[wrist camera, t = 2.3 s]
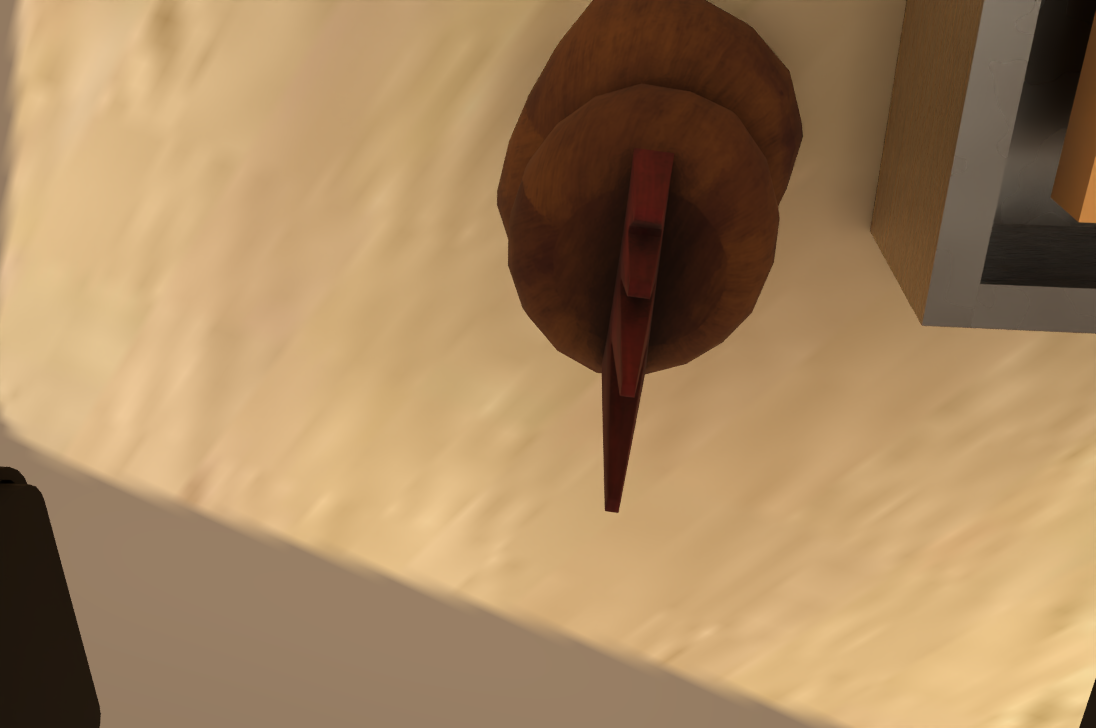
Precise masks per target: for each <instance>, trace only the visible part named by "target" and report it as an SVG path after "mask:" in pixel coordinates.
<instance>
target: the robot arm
mask: <svg viewBox="0 0 1096 728" xmlns="http://www.w3.org/2000/svg"><path fill="white" fill-rule="evenodd" d="M100 715H101V713H100V706H99V702H98V699H97V695H96V691H95V687H94V683H93V680H92V676H91V673H90V669H89V665H88V661H87V657H86V654H85V650H84V646H83V643H82V639H81V635H80V631H79V628H78V624H77V621H76V616H75V613H74V609H73V605H72V601H71V598H70V594H69V590H68V587H67V583H66V579H65V575H64V572H63V568H62V564H61V561H60V557H59V553H58V550H57V546H56V542H55V538H54V535H53V531H52V527H51V523H50V520H49V516H48V512H47V508H46V505H45V501H44V498H43V496H42V494H41V492H40V491H39V490H38V489H37V487H35V486H32V485H28V484H27V482H26V480H25V478H24V476H23V475H22V474H21V473H20V472H19V471H18V470H16V469H13V468H11V467H0V728H99V726H100ZM1079 728H1096V679H1095V682H1094V685H1093V688H1092V691H1091V694H1090V697H1089V700H1088V703H1087V706H1086V709H1085V712H1084V715H1083V718H1082V721H1081V724H1080V727H1079Z"/></svg>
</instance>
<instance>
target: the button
mask: <svg viewBox="0 0 1096 728" xmlns="http://www.w3.org/2000/svg"><path fill="white" fill-rule="evenodd" d="M1051 198H1052V199H1053V200H1054V201H1055V202H1056V203H1057V204H1058V205H1060V206H1061V207H1062V208H1063V209H1064V210H1065V211H1066V212H1067V213H1069V214H1070V215H1071V216H1072V217H1073V218H1074V219H1075V220H1076V221H1078V222H1083V223H1096V11H1095V15H1094V20H1093V24H1092V28H1091V32H1090V36H1089V40H1088V44H1087V49H1086V53H1085V57H1084V61H1083V65H1082V69H1081V73H1080V78H1079V82H1078V86H1077V90H1076V94H1075V98H1074V102H1073V107H1072V111H1071V115H1070V119H1069V123H1068V127H1067V131H1066V136H1065V140H1064V144H1063V148H1062V152H1061V156H1060V160H1059V165H1058V169H1057V173H1056V177H1055V181H1054V185H1053V189H1052V194H1051Z"/></svg>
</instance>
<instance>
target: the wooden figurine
mask: <svg viewBox="0 0 1096 728" xmlns="http://www.w3.org/2000/svg"><path fill="white" fill-rule="evenodd" d="M802 138H803V132H802V123H801V118H800V114H799V110H798V105H797V101H796V97H795V92H794V88H793V84H792V80H791V76H790V72H789V70H788V69H787V68H786V67H785V65H784V64H783V63H782V62H781V61H780V60H779V58H778V57H777V56H776V55H775V54H774V52H773V51H772V50H771V49H770V48H769V46H768V45H767V44H766V43H765V42H764V40H763V39H762V38H761V37H760V36H759V35H758V33H757V32H756V31H755V30H754V29H753V28H752V27H751V26H749V25H748V24H747V23H745V22H743V21H741V20H739V19H738V18H736V17H734V16H732V15H731V14H729V13H727V12H725V11H724V10H722V9H720V8H718V7H716V6H715V5H713V4H711V3H709V2H708V1H706V0H593V1H592V2H591V3H590V5H589V6H588V7H587V8H586V10H585V11H584V12H583V13H582V15H581V16H580V17H579V18H578V20H577V21H576V22H575V23H574V25H573V26H572V27H571V28H570V30H569V31H568V32H567V33H566V35H565V36H564V37H563V38H562V40H561V41H560V42H559V44H558V45H557V47H556V49H555V50H554V52H553V54H552V55H551V57H550V59H549V61H548V62H547V64H546V66H545V68H544V69H543V71H542V73H541V75H540V77H539V78H538V80H537V82H536V84H535V85H534V87H533V89H532V91H531V92H530V94H529V96H528V98H527V101H526V103H525V105H524V108H523V110H522V113H521V115H520V117H519V120H518V122H517V124H516V127H515V129H514V131H513V134H512V136H511V138H510V141H509V144H508V148H507V153H506V157H505V161H504V165H503V169H502V174H501V178H500V182H499V186H498V190H497V206H498V209H499V212H500V215H501V218H502V221H503V224H504V227H505V230H506V233H507V237H508V240H509V241H508V266H509V269H510V272H511V275H512V278H513V281H514V284H515V287H516V290H517V293H518V296H519V299H520V301H521V304H522V307H523V309H524V311H525V312H526V313H527V315H528V316H529V317H530V319H531V320H532V321H533V322H534V323H535V325H536V326H537V327H538V328H539V329H540V330H541V332H542V333H543V334H544V335H545V336H546V338H547V339H548V340H549V341H550V342H551V343H552V345H553V346H554V347H555V348H556V349H557V351H559V352H561V353H563V354H565V355H566V356H568V357H570V358H572V359H573V360H575V361H577V362H579V363H581V364H582V365H584V366H586V367H588V368H589V369H591V370H593V371H595V372H596V373H602V411H603V452H604V494H605V511H608V512H616V513H618V512H619V507H620V502H621V497H622V491H623V486H624V481H625V476H626V471H627V465H628V460H629V455H630V450H631V444H632V439H633V434H634V429H635V424H636V418H637V413H638V408H639V403H640V397H641V392H642V387H643V381H644V376H645V374H648V373H652V372H656V371H660V370H664V369H668V368H672V367H676V366H679V365H683V364H687V363H688V362H690V361H692V360H693V359H695V358H697V357H698V356H700V355H702V354H704V353H705V352H707V351H709V350H710V349H712V348H714V347H715V346H717V345H719V344H720V343H722V342H723V341H724V340H725V339H726V338H727V337H728V336H729V335H730V334H731V333H732V332H733V331H734V330H735V329H736V328H737V327H738V326H739V325H740V324H741V323H742V322H743V321H744V320H745V319H746V318H747V317H748V316H749V315H750V314H751V313H752V311H753V309H754V306H755V304H756V302H757V299H758V297H759V295H760V292H761V290H762V288H763V286H764V283H765V281H766V279H767V276H768V274H769V272H770V269H771V267H772V265H773V263H774V256H775V249H776V241H777V234H778V226H779V211H778V205H779V203H780V201H781V199H782V197H783V195H784V193H785V191H786V189H787V186H788V182H789V179H790V176H791V173H792V170H793V167H794V163H795V160H796V157H797V154H798V151H799V147H800V144H801V141H802Z"/></svg>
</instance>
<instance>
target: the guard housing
mask: <svg viewBox="0 0 1096 728" xmlns="http://www.w3.org/2000/svg"><path fill="white" fill-rule="evenodd" d="M1095 11H1096V0H907V3H906V9H905V15H904V22H903V28H902V34H901V41H900V47H899V53H898V60H897V66H896V72H895V78H894V85H893V91H892V97H891V104H890V110H889V116H888V123H887V129H886V135H885V142H884V148H883V154H882V160H881V167H880V173H879V179H878V186H877V192H876V198H875V205H874V211H873V217H872V224H871V230H870V232H871V234H872V235H873V237H874V239H875V241H876V243H877V245H878V246H879V248H880V250H881V252H882V254H883V256H884V257H885V259H886V261H887V263H888V265H889V266H890V268H891V270H892V272H893V274H894V276H895V277H896V279H897V281H898V283H899V285H900V287H901V288H902V290H903V292H904V294H905V296H906V298H907V299H908V301H909V303H910V305H911V307H912V309H913V310H914V312H915V314H916V316H917V318H918V320H919V321H920V323H921V325H922V326H941V327H963V328H985V329H1007V330H1029V331H1051V332H1073V333H1095V334H1096V223H1083V222H1078V221H1076V220H1075V219H1074V218H1073V217H1072V216H1071V215H1070V214H1069V213H1067V212H1066V211H1065V210H1064V209H1063V208H1062V207H1061V206H1060V205H1058V204H1057V203H1056V202H1055V201H1054V200H1053V199H1052V198H1051V194H1052V189H1053V185H1054V181H1055V177H1056V173H1057V169H1058V165H1059V160H1060V156H1061V152H1062V148H1063V144H1064V140H1065V136H1066V131H1067V127H1068V123H1069V119H1070V115H1071V111H1072V107H1073V102H1074V98H1075V94H1076V90H1077V86H1078V82H1079V78H1080V73H1081V69H1082V65H1083V61H1084V57H1085V53H1086V49H1087V44H1088V40H1089V36H1090V32H1091V28H1092V24H1093V20H1094V15H1095Z"/></svg>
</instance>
